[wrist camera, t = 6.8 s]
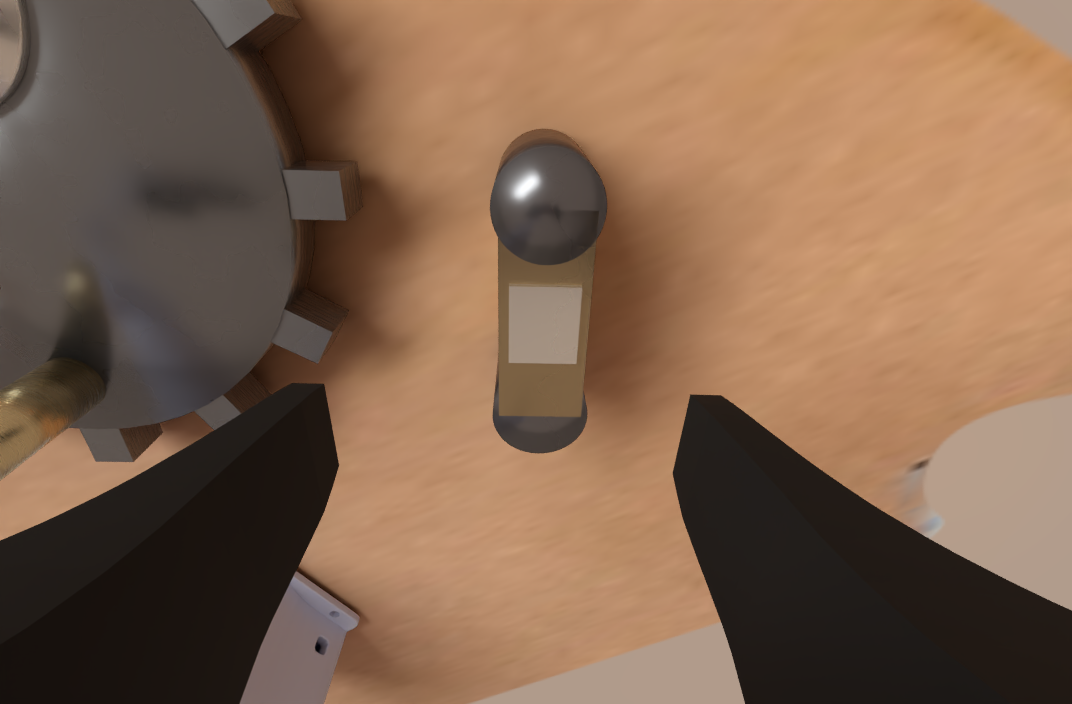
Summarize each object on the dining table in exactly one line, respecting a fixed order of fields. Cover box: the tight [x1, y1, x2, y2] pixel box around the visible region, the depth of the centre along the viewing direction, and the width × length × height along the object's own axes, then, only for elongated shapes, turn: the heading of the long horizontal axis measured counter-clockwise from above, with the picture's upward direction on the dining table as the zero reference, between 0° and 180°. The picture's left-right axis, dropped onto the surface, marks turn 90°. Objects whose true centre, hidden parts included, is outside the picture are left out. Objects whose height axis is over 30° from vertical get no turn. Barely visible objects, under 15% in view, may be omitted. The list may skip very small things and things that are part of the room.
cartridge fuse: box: [490, 129, 607, 453], centre depth 17 cm, size 10×3×5 cm, turn 178°
